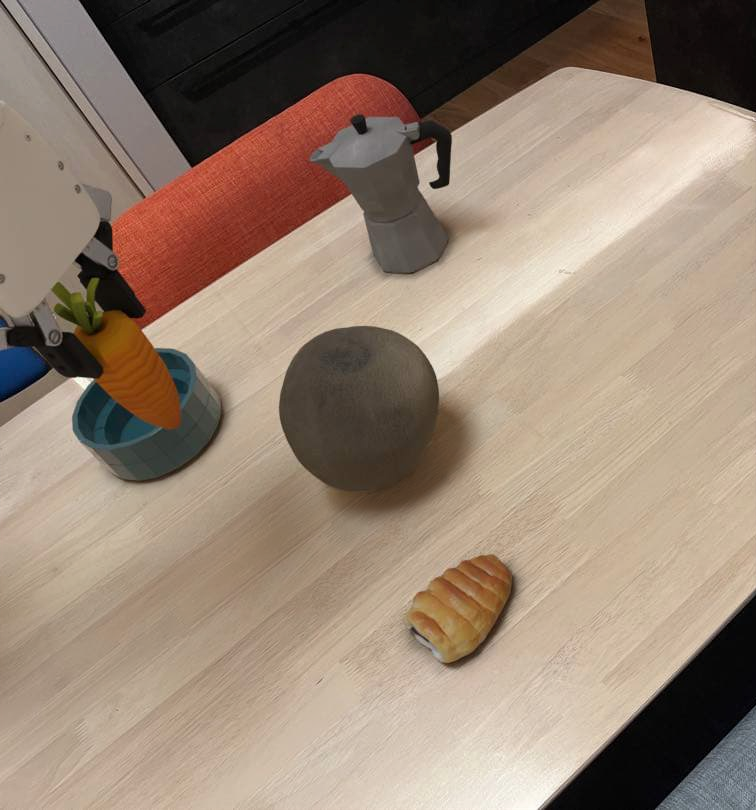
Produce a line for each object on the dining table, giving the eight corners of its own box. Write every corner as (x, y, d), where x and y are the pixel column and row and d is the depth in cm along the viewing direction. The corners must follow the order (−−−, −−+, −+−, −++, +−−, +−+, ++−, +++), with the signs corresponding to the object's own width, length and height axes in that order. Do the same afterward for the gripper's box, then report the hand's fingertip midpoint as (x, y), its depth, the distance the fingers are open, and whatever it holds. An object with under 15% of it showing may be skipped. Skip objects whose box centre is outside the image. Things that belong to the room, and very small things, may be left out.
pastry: (477, 549, 79) (466, 526, 76) (534, 590, 75) (524, 567, 73) (401, 631, 76) (386, 610, 73) (457, 678, 72) (443, 658, 69)
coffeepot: (356, 286, 105) (291, 157, 92) (360, 235, 111) (300, 106, 98) (485, 258, 103) (438, 122, 90) (482, 207, 110) (438, 73, 96)
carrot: (144, 419, 73) (26, 282, 62) (202, 393, 73) (96, 253, 62) (149, 462, 70) (26, 326, 58) (210, 435, 70) (100, 296, 59)
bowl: (82, 478, 95) (47, 444, 90) (144, 381, 103) (114, 345, 98) (187, 488, 91) (156, 453, 86) (243, 387, 99) (217, 350, 94)
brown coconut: (429, 530, 81) (370, 429, 70) (296, 509, 86) (221, 410, 75) (480, 408, 89) (435, 299, 78) (355, 394, 94) (296, 290, 83)
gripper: (-33, 42, 57) (127, 260, 70) (-236, 222, 47) (-5, 435, 61) (61, 35, 54) (207, 262, 68) (-133, 223, 45) (84, 445, 58)
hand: (106, 342), depth 64 cm, fingers closed on carrot, 5 cm apart
